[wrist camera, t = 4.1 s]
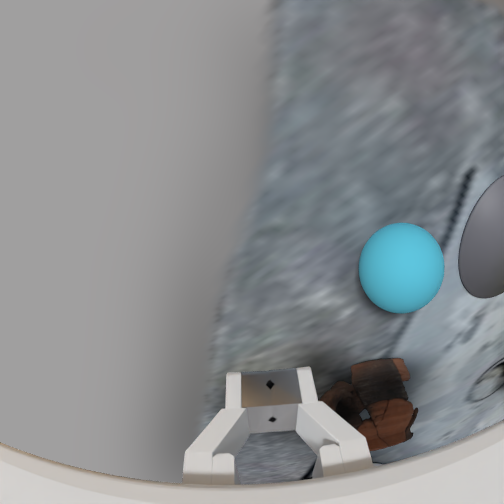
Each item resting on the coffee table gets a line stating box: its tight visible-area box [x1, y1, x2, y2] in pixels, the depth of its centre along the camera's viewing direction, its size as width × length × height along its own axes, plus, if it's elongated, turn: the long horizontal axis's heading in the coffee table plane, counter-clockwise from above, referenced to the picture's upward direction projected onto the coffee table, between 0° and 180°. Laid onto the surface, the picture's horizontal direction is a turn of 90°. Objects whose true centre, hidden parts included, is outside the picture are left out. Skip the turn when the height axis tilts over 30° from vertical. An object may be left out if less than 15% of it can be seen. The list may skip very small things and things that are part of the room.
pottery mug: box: [320, 358, 418, 451], centre depth 25 cm, size 12×10×8 cm
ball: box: [359, 223, 444, 313], centre depth 18 cm, size 6×6×6 cm
